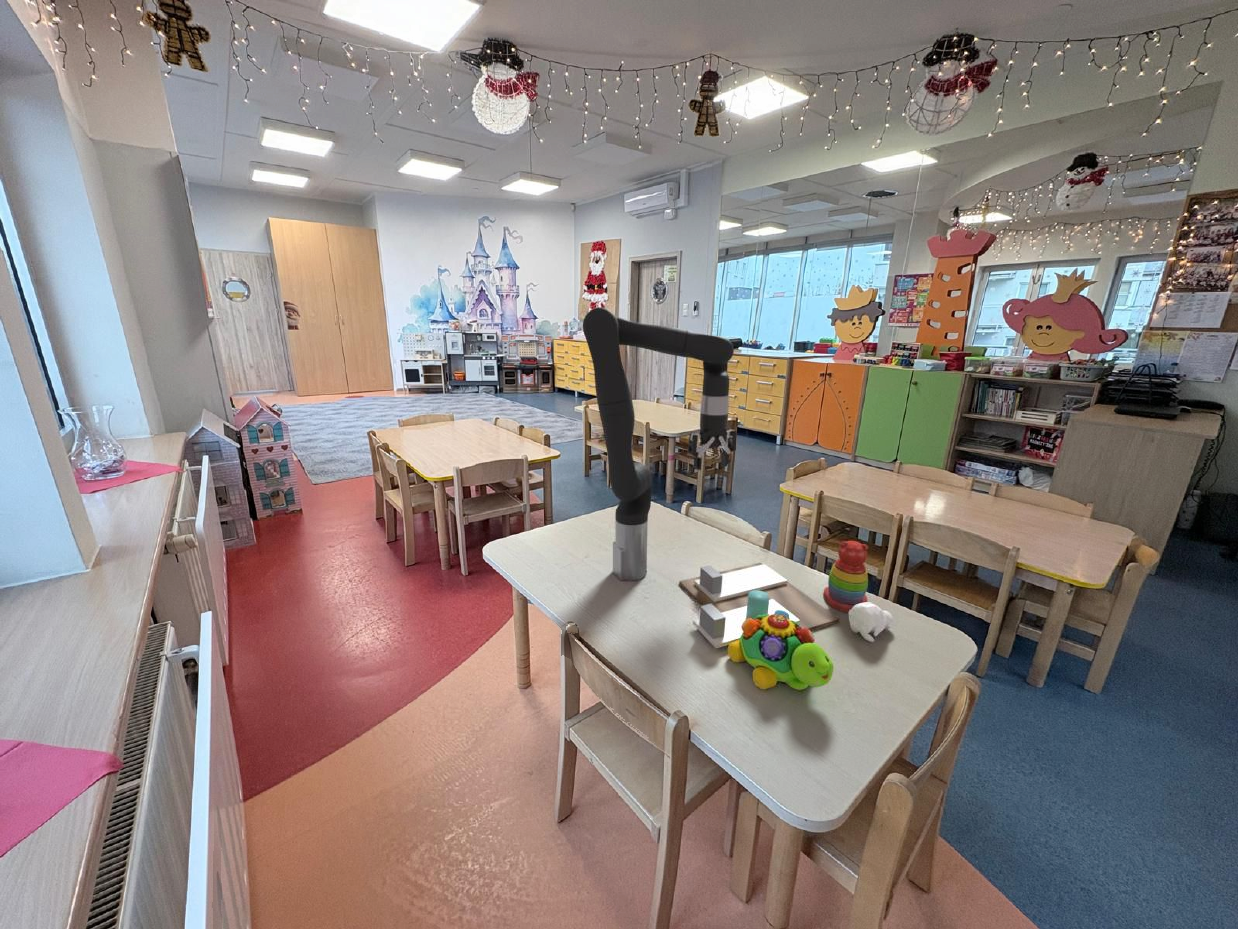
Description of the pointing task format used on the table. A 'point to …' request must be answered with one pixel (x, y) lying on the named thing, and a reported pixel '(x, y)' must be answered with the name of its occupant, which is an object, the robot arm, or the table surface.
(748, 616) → the teal cylinder
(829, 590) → the stacking bear
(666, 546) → the table surface
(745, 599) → the lane board
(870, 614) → the white toy rabbit
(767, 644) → the turtle toy
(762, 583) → the empty strip
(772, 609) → the strip
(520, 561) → the table surface
